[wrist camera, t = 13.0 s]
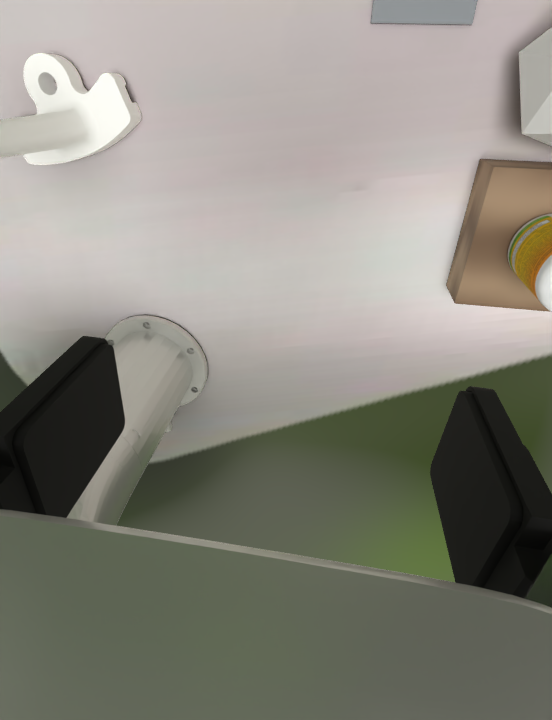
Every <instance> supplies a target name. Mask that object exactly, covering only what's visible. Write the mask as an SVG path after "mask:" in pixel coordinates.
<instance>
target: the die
mask: <svg viewBox="0 0 552 720" xmlns="http://www.w3.org/2000/svg"><path fill="white" fill-rule="evenodd" d="M519 73H520V101H521V129H522V134H523V135H526V136H528V137H530V138H533V139H535V140H538V141H540V142H543V143H545V144H548V145H550V146H552V27H551V28H550V29H549V30H547V31H546V32H545V33H543V34H542V35H541V36H540V37H538V38H537V39H536V40H534V41H533V42H532V43H530V44H529V45H528V46H527V47H525V48H524V49H523V50H521V51H520V52H519Z"/></svg>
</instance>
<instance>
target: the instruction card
mask: <svg viewBox="0 0 552 720" xmlns="http://www.w3.org/2000/svg"><path fill="white" fill-rule="evenodd" d="M476 5H477V0H374V1H373V9H372V18H371V23H379V24H446V25H472V23H473V18H474V14H475V9H476Z"/></svg>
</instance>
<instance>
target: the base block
mask: <svg viewBox="0 0 552 720" xmlns="http://www.w3.org/2000/svg"><path fill="white" fill-rule="evenodd" d="M546 214H552V162H533V161H512V160H491V159H480V161H479V165H478V168H477V172H476V176H475V180H474V183H473V187H472V191H471V195H470V198H469V202H468V206H467V210H466V213H465V217H464V221H463V225H462V228H461V232H460V236H459V239H458V243H457V247H456V251H455V254H454V258H453V262H452V266H451V269H450V273H449V277H448V281H447V284H446V286H447V288H448V290H449V292H450V294H451V296H452V299H453V301H454V303H456V304H468V305H480V306H491V307H503V308H515V309H527V310H538V311H549V310H548V309H547V308H546V307H544V306H543V305H542V304H541V303H540V302H539V300H538V299H537V298H536V297H535V296H534V294H533V293H532V292H531V291H530V290H529V289H528V288H527V287H526V285H525V284H524V283H523V282H522V281H521V280H520V279H519V277H518V276H517V275H516V274H515V273H514V272H513V270H512V269H511V267H510V265H509V261H508V249H509V246H510V243H511V241H512V239H513V237H514V236H515V234H516V233H517V232H518V231H519V229H520V228H522V227H523V226H524V225H525V224H526V223H528V222H529V221H531V220H533V219H535V218H537V217H539V216H542V215H546ZM550 312H551V311H550Z"/></svg>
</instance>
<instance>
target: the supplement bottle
mask: <svg viewBox="0 0 552 720" xmlns="http://www.w3.org/2000/svg"><path fill="white" fill-rule="evenodd" d="M508 261H509V265H510V267H511V269H512V270H513V272H514V273H515V274H516V275H517V276H518V277H519V279H520V280H521V281H522V282H523V283H524V284H525V285H526V287H527V288H528V289H529V290H530V291H531V292H532V293H533V294H534V296H535V297H536V298H537V299H538V300H539V302H540V303H541V304H542V305H543V306H544V307H546V308H547V309H548V310H549V311H551V312H552V214H546V215H542V216H539V217H537V218H535V219H533V220H531V221H529V222H528V223H526V224H525V225H524V226H523V227H522V228H520V229H519V231H518V232H517V233H516V234H515V236H514V237H513V239H512V241H511V243H510V246H509V249H508Z"/></svg>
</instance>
